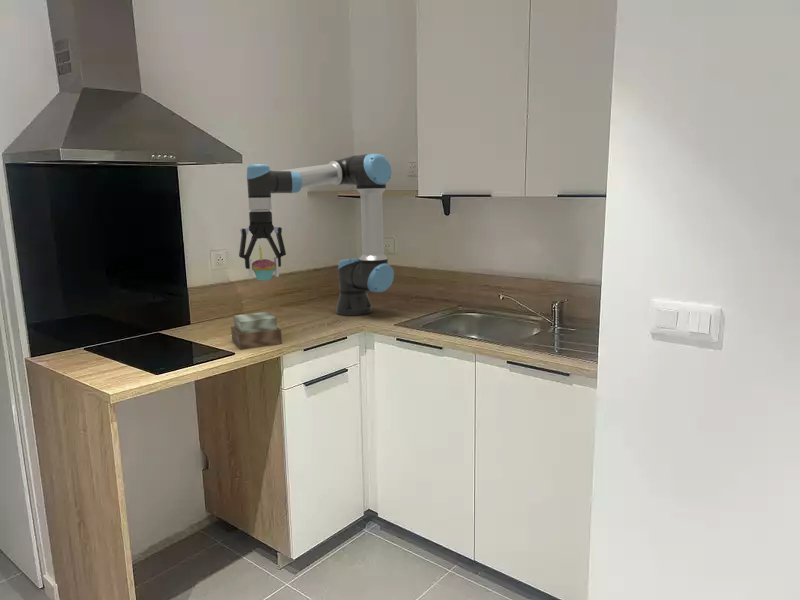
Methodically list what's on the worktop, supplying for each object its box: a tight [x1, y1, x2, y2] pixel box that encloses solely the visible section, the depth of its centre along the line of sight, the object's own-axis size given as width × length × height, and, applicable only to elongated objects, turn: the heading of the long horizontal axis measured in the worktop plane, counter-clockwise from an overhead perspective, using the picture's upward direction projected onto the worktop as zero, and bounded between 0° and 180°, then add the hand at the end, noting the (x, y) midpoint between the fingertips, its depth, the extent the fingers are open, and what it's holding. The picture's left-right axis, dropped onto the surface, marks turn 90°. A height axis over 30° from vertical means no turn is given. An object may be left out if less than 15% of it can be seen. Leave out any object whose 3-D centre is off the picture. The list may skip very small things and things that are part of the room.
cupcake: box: [252, 245, 276, 281], centre depth 198 cm, size 9×8×12 cm
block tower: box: [230, 311, 283, 350], centre depth 199 cm, size 14×14×9 cm
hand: (263, 277), depth 199 cm, fingers closed on cupcake, 8 cm apart
